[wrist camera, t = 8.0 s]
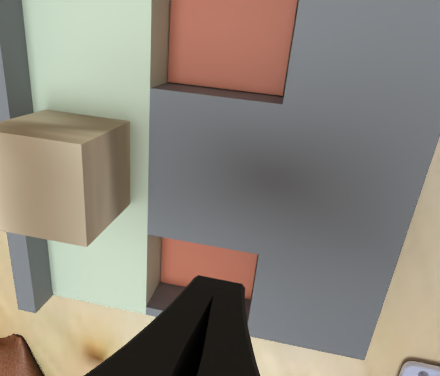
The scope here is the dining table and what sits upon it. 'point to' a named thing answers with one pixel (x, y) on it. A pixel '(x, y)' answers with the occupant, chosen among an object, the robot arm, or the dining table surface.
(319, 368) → the dining table surface
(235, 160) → the trap board
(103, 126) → the beech block
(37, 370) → the sunglasses case
